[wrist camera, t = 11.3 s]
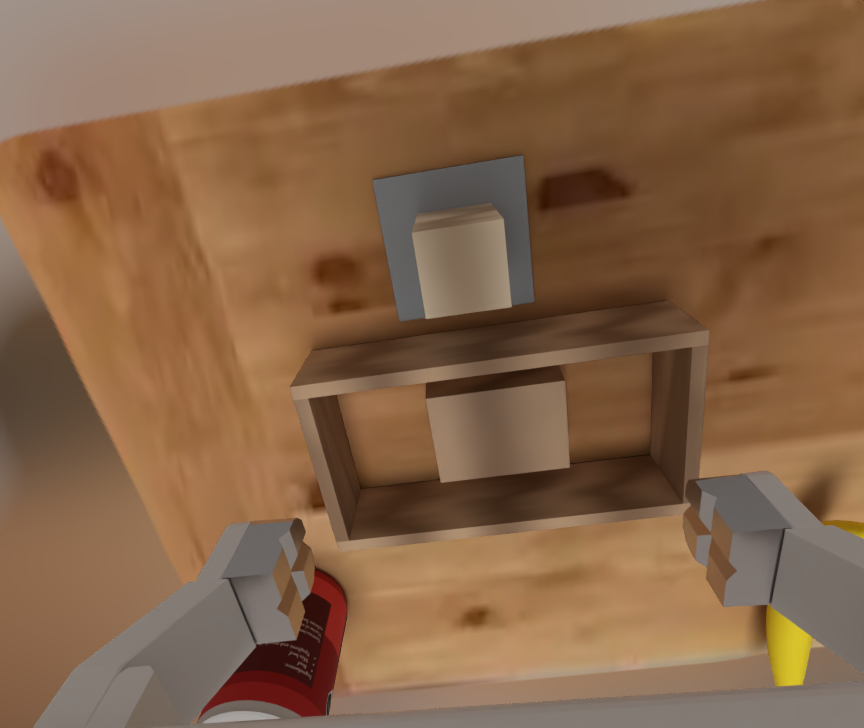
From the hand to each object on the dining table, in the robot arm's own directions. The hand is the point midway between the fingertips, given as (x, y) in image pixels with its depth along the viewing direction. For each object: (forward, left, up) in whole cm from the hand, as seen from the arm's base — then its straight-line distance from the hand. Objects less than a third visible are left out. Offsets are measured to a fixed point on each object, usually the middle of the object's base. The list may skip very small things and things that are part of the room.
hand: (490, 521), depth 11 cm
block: (0, -2, -20) cm, 20 cm away
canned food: (+16, +24, -21) cm, 35 cm away
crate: (-1, +9, -20) cm, 22 cm away
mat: (0, -2, -20) cm, 20 cm away
